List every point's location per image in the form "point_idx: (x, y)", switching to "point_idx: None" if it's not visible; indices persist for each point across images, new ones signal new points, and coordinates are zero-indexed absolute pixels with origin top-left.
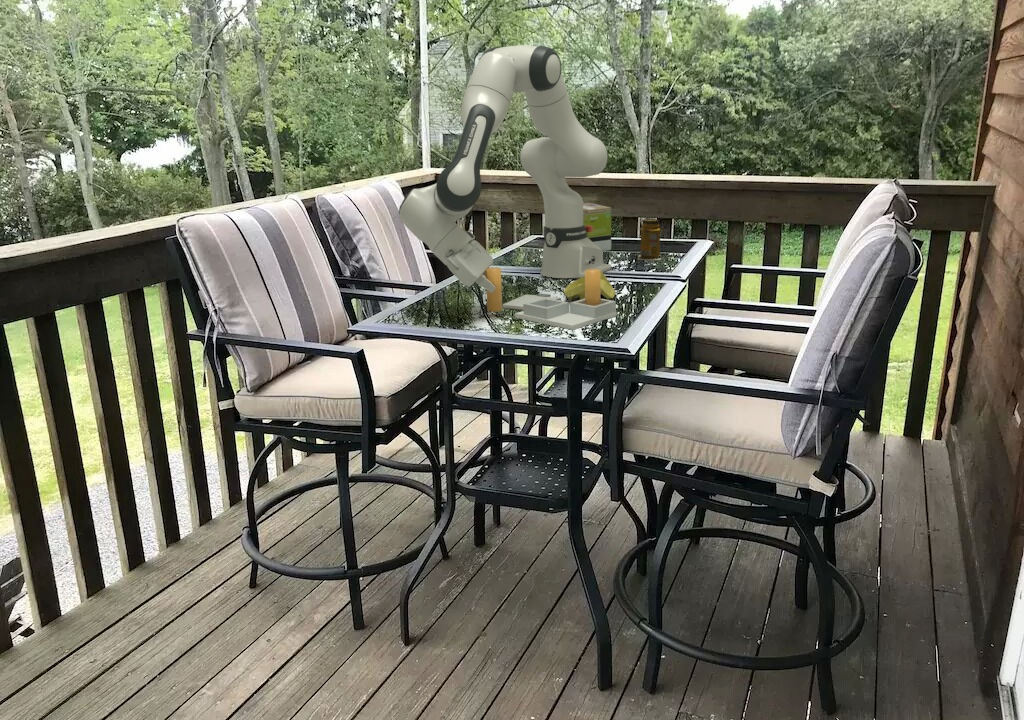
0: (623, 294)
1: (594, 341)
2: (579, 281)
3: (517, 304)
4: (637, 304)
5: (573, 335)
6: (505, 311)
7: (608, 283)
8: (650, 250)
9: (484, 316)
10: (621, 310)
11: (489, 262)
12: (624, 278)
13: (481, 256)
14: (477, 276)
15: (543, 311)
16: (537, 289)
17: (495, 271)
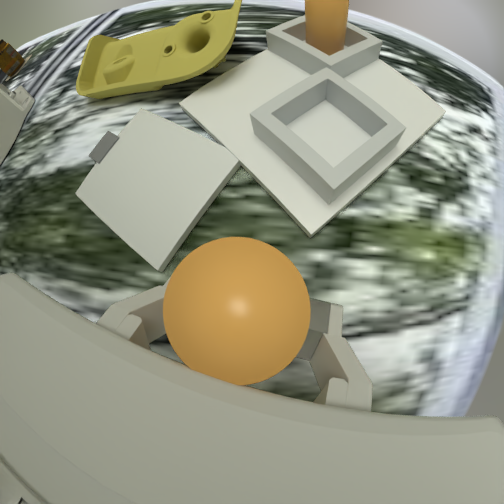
0: None
1: (494, 111)
2: (83, 78)
3: (171, 218)
4: None
5: (474, 128)
6: None
7: (117, 40)
8: (16, 60)
9: None
10: (276, 24)
11: (53, 315)
12: (66, 58)
13: (26, 387)
14: (498, 420)
15: (394, 141)
16: (39, 174)
17: (307, 295)
